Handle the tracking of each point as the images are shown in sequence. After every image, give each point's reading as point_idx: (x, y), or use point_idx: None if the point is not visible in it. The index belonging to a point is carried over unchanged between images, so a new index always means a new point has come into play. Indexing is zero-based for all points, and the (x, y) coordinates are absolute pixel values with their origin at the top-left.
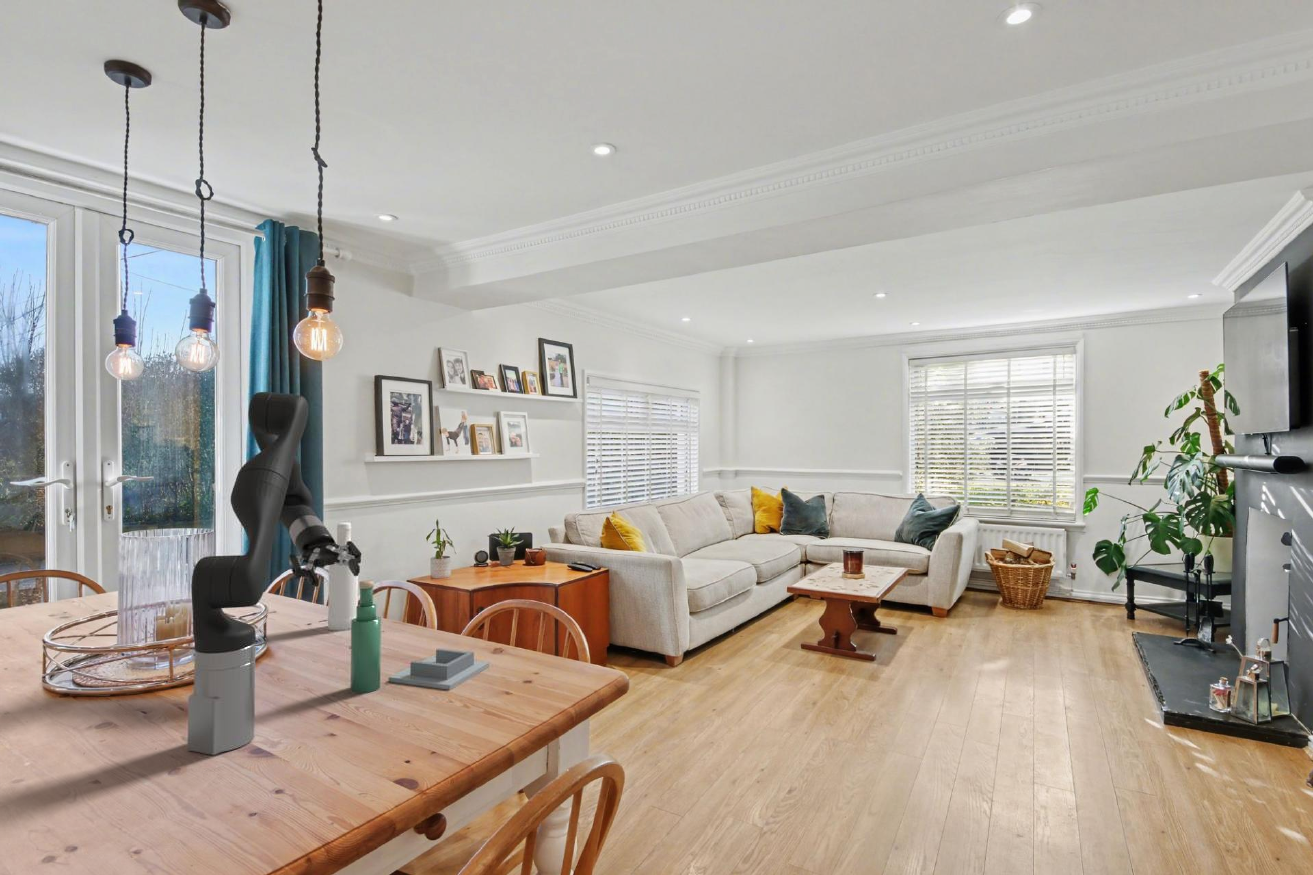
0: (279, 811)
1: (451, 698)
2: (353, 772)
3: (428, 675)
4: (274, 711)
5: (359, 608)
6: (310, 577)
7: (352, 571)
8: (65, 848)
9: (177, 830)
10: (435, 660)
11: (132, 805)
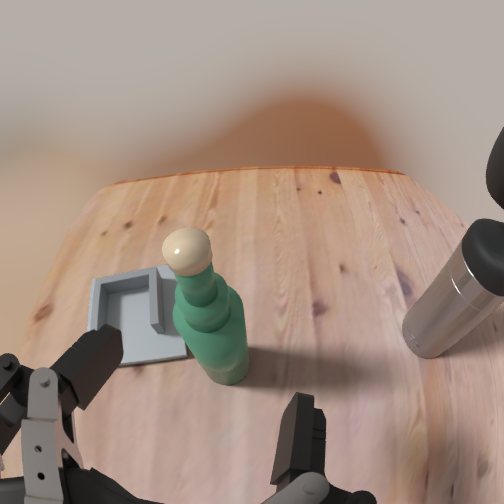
0: (405, 204)
1: None
2: (356, 206)
3: (162, 301)
4: (361, 385)
5: (227, 288)
6: (318, 432)
7: (106, 372)
8: None
9: (449, 227)
10: None
11: None
